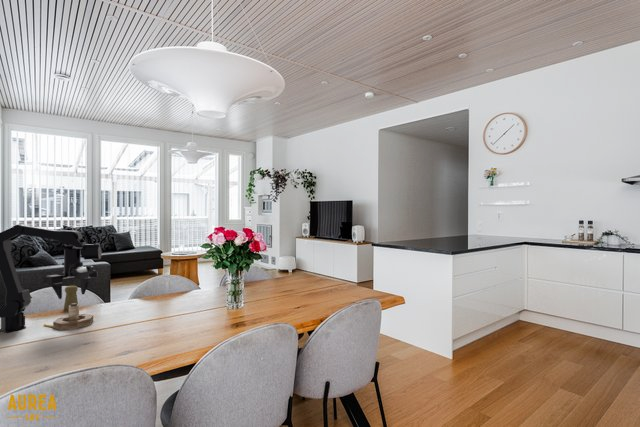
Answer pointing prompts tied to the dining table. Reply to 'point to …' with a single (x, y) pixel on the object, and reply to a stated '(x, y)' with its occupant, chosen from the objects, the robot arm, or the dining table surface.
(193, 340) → the dining table surface
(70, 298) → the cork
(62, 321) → the brown octagonal ring
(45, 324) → the thin yellow rod
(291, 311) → the dining table surface
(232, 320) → the dining table surface
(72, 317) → the beige wooden peg
